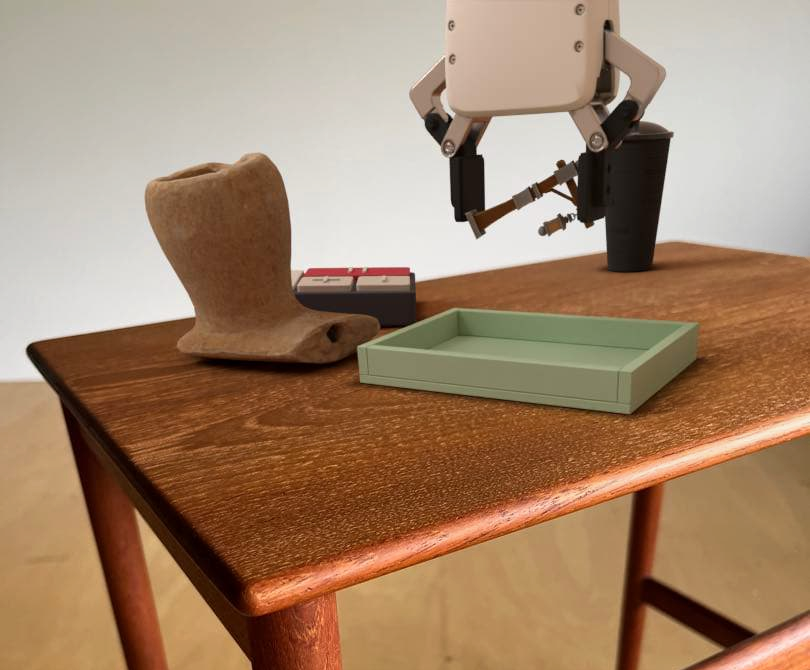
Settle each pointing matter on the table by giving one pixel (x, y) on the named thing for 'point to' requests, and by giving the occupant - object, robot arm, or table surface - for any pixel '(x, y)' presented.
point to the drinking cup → (636, 197)
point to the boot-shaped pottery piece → (243, 266)
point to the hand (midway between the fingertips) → (528, 218)
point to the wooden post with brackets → (528, 196)
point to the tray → (534, 357)
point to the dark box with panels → (359, 292)
